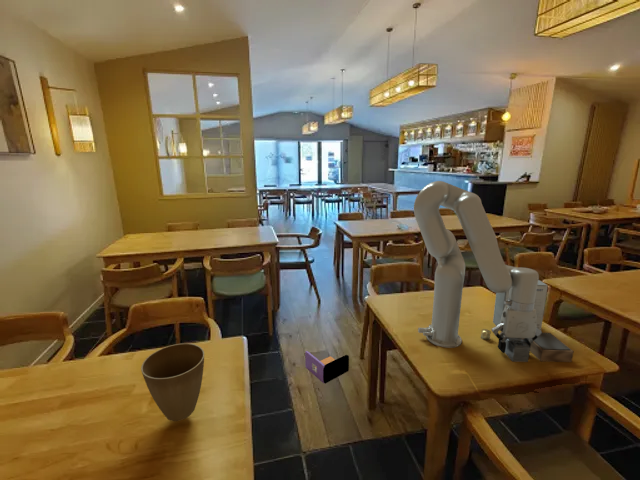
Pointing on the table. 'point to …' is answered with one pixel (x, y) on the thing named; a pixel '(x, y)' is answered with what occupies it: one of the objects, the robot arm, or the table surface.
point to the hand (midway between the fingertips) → (513, 350)
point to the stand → (550, 349)
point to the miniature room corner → (326, 367)
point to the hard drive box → (538, 304)
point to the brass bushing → (485, 334)
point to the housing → (517, 349)
